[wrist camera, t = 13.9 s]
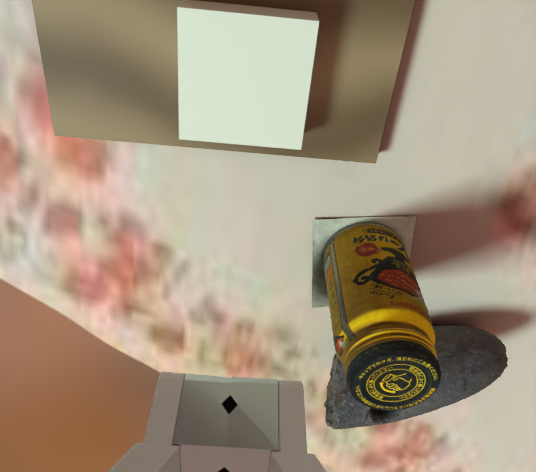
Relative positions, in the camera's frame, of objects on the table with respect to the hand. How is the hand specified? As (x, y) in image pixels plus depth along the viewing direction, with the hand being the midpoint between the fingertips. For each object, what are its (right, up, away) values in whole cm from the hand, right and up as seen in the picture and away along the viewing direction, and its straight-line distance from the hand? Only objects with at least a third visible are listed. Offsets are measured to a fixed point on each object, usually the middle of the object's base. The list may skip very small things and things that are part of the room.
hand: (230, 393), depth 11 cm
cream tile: (+3, +12, +17) cm, 21 cm away
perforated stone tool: (+12, -5, +32) cm, 35 cm away
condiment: (+8, +1, +27) cm, 28 cm away
